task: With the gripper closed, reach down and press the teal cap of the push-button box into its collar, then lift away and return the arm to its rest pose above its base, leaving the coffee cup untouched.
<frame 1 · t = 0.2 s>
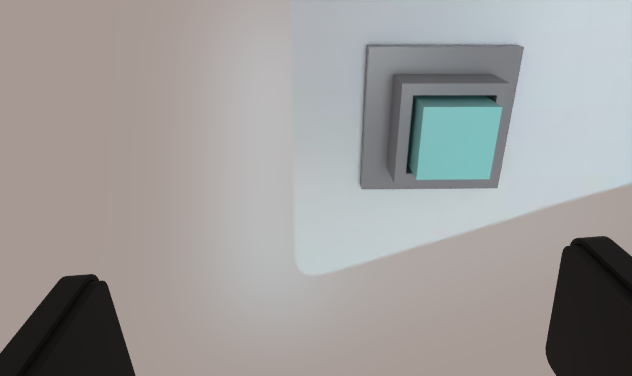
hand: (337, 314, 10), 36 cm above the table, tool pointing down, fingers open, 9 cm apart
button housing: (434, 119, 45), on the table
button cap: (450, 136, 40), point 6 cm above the table, slide at 0.0 cm
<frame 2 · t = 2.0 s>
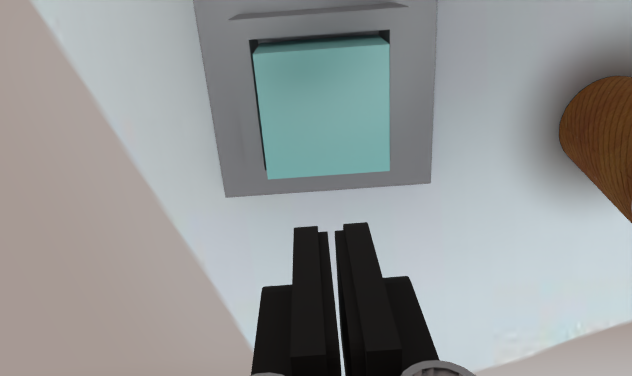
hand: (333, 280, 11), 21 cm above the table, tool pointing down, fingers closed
button housing: (320, 84, 30), on the table
button cap: (323, 105, 25), point 6 cm above the table, slide at 0.0 cm
disposable coffee cup: (604, 122, 31), on the table
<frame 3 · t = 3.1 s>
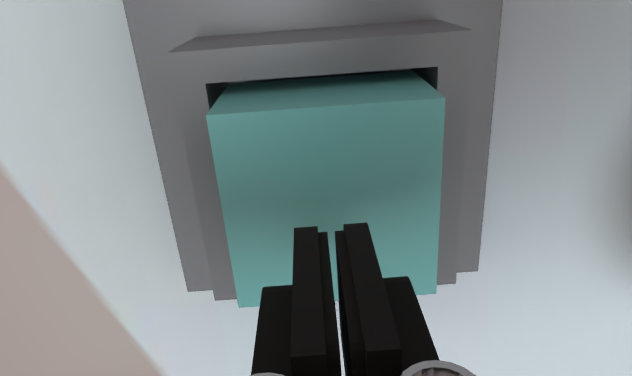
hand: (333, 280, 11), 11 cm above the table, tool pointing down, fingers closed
button housing: (322, 134, 20), on the table
button cap: (328, 185, 15), point 5 cm above the table, slide at 0.0 cm
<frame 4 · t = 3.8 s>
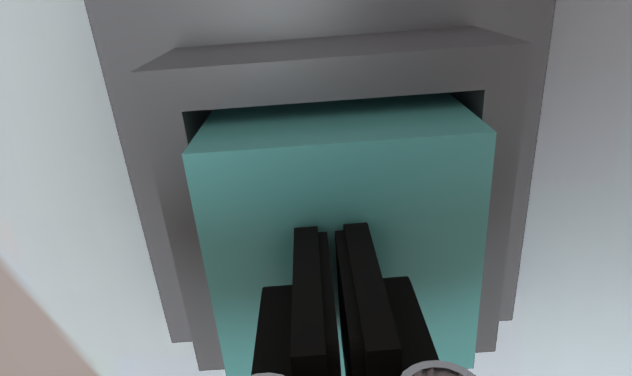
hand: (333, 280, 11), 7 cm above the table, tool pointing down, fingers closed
button housing: (330, 162, 17), on the table
button cap: (339, 231, 13), point 5 cm above the table, slide at 0.4 cm, touching gripper
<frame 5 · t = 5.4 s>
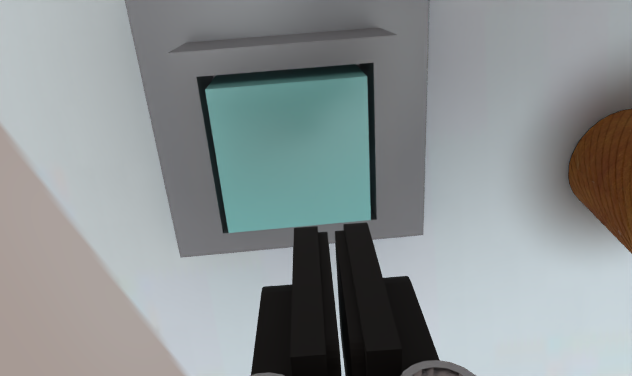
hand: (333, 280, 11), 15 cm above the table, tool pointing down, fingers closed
button housing: (291, 122, 25), on the table
button cap: (292, 144, 21), point 4 cm above the table, slide at 1.6 cm
disposable coffee cup: (618, 160, 27), on the table
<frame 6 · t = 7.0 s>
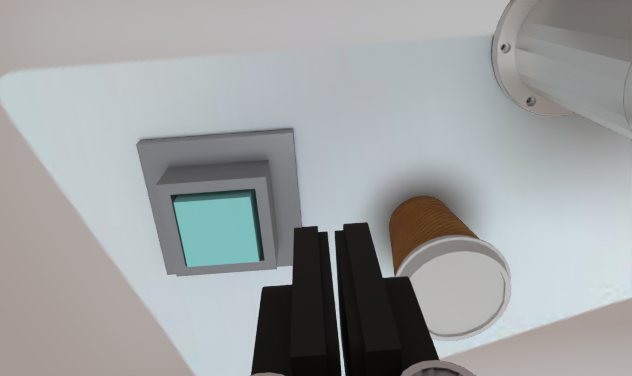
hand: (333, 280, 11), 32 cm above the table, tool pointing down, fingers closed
button housing: (227, 202, 45), on the table
button cap: (221, 222, 42), point 4 cm above the table, slide at 1.6 cm
disposable coffee cup: (419, 223, 47), on the table
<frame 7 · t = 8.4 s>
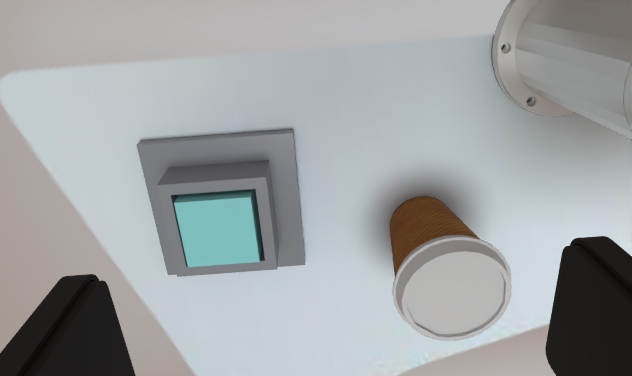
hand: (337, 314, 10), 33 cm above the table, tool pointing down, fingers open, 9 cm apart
button housing: (228, 203, 45), on the table
button cap: (221, 222, 42), point 4 cm above the table, slide at 1.6 cm
disposable coffee cup: (419, 223, 47), on the table
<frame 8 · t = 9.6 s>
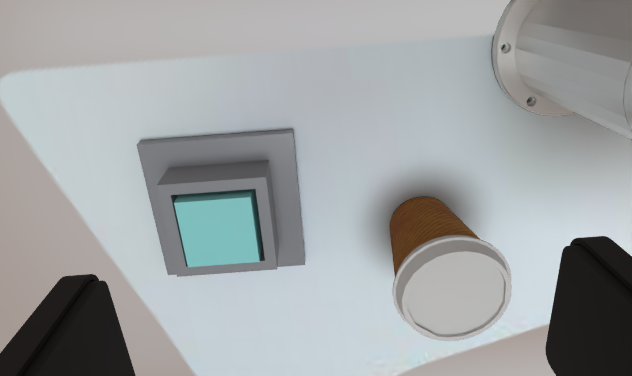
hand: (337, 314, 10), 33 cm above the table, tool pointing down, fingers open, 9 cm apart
button housing: (228, 203, 45), on the table
button cap: (221, 222, 42), point 4 cm above the table, slide at 1.6 cm
disposable coffee cup: (419, 223, 47), on the table
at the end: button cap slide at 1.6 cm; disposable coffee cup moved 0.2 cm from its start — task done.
